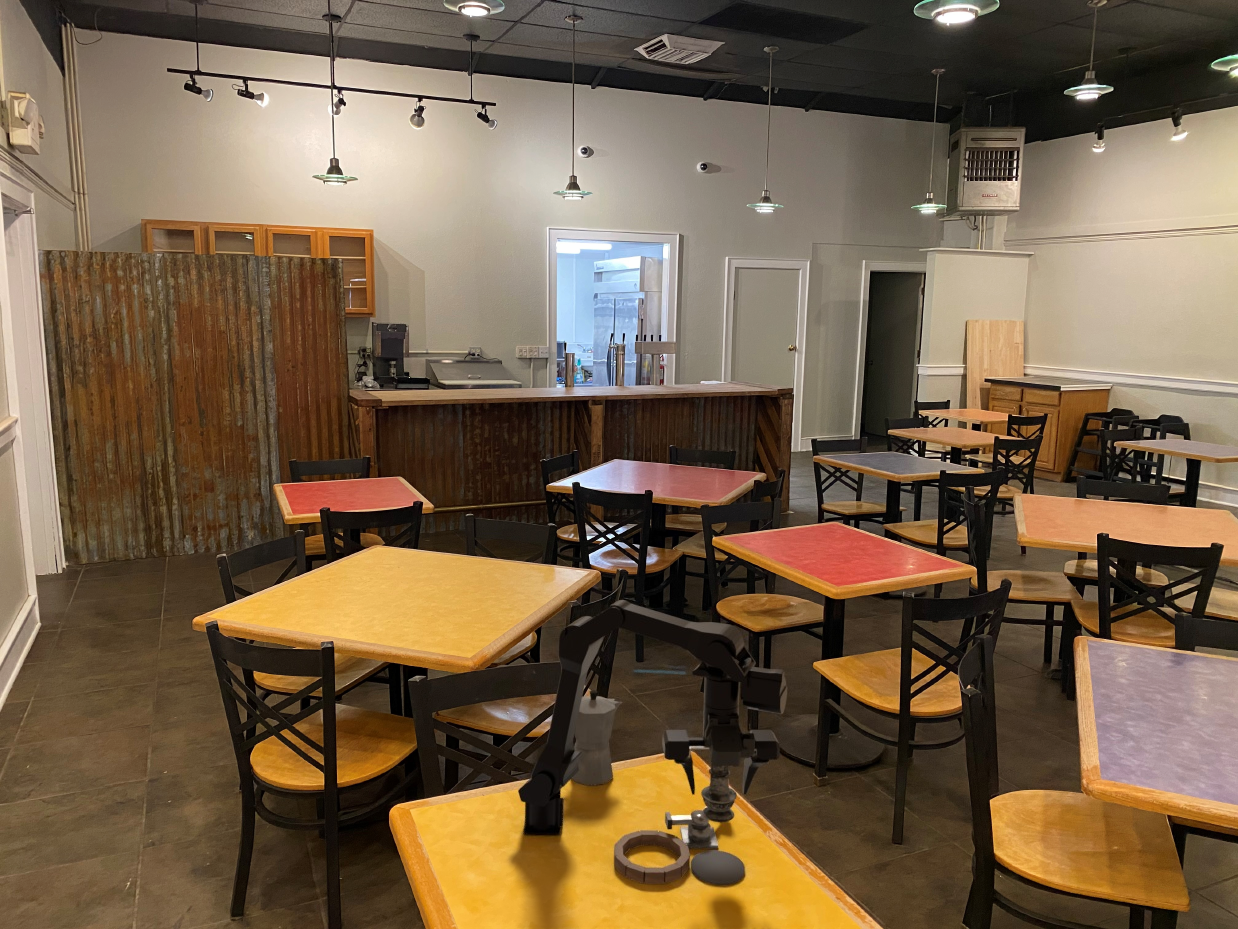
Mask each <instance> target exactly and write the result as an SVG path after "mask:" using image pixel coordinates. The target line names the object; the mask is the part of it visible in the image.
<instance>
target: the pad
mask: <svg viewBox="0 0 1238 929" xmlns="http://www.w3.org/2000/svg"><path fill="white" fill-rule="evenodd" d="M690 870H691V872H692V874H693V875H694V876H695V877H696V878H698V879H699V880H701V881H702V882H704V883H706V884H710V885H717V886H727V885H732V884H735V883H737V882H739V881H741V880H742V879H743V877H744V876H745V873H746V872H745V871H746V867H745V864H744V862H743V861H742V859H741V858H739V857H738V856H736V855H735V854H732V853H730V852H727V851H724V850H717V849H709V850H704V851H701V852H699V853H697V854H695V855H694V856H693V857H692V859H690Z"/></svg>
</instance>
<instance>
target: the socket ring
mask: <svg viewBox="0 0 1238 929" xmlns="http://www.w3.org/2000/svg"><path fill="white" fill-rule="evenodd" d="M640 846H657V847H660V848H663V849H667V850H670V851H671V853H673V854H675V856H677V857H678V858H677V859H676V861H675V862H673V863H671V864H668V865H665V866H663V867H661V866H659V867H657V866H655V867H651V866H650V867H648V866H647V867H646V866H643V865H640V864H636V863H634V862H632V861H631V860H629V859H628V858H627V857H626V856H625V854H627V853H628V851H629V850H632V849H635V848H638V847H640ZM613 848H614V850H613V859H614V860H613V861H614V862H613V863H614V869H616V870H617V871H618V872H619V873H620V874H621V875H622V876H623V877H624V878H626V879H629V880H631V881H634V882H638V883H641V884H645V885H664V884H668V883H671V882H674V881H677V880H680V879H682V878H683V877H684V876H685V874H686V873H687V872H688V870H689V869H690V867H691V854H690V850H689V849H688V846H687V844H686V843H684V842H683V841H682V838H681V839H680V837H678V836H677V835H674V834H672V833H669V832H665V831H661V830H659V831H658V829H657V830H655V829H654V830H651V829H650V830H648V829H647V830H644V829H640V830H636V831H633V832H630V833H625V834H624V835H623V836H621V838H619V840H617V842H615V844H614V846H613Z"/></svg>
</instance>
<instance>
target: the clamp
mask: <svg viewBox="0 0 1238 929" xmlns="http://www.w3.org/2000/svg"><path fill="white" fill-rule="evenodd" d="M728 785H729V786H730V779H729V778H728ZM706 807H707V806H706V805H705V807H704V808H703V809H695V810H693V811H691V813H690V814H689V815H688V814H687V815H686V814H685V815H682V814H681V815H671V812H670V811H665V812H664V813H665V814H664V824H665V826H666V829H667V830H673V826H688V825H691V826H692V827H693V828H696V829H705V828H707V827H708V826H709V824H710V820H708V819H706V818H705V817H704V816H703V813H702V812H703V810H704V809H705V808H706Z"/></svg>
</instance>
